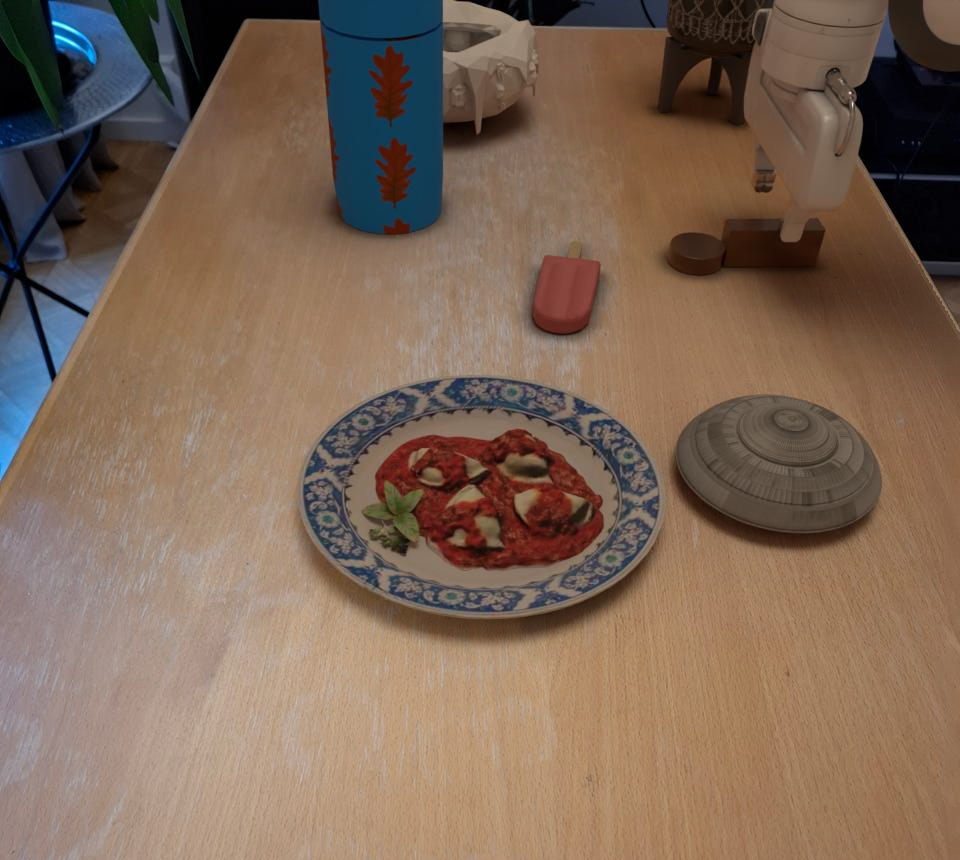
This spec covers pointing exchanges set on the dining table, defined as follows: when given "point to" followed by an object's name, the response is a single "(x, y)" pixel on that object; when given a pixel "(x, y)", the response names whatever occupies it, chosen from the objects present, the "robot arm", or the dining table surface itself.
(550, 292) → the popsicle
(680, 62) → the planter
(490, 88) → the bowl
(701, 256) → the brown cylinder and block
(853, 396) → the dining table surface
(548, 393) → the ceramic plate
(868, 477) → the flying saucer
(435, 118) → the thermos
